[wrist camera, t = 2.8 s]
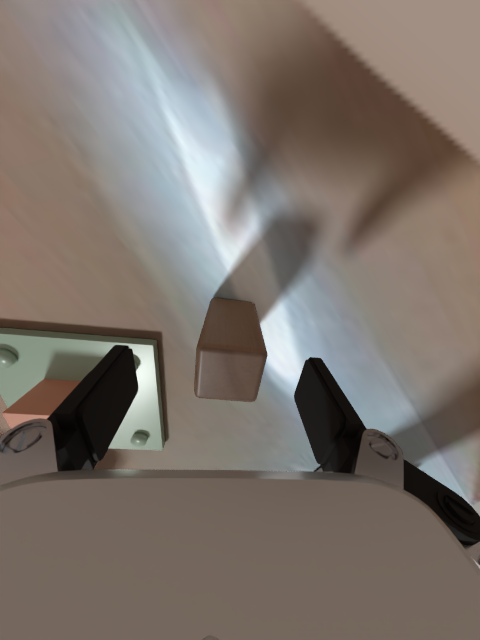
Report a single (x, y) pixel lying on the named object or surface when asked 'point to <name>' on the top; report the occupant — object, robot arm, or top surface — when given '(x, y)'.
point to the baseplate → (74, 364)
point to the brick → (39, 401)
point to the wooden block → (230, 352)
